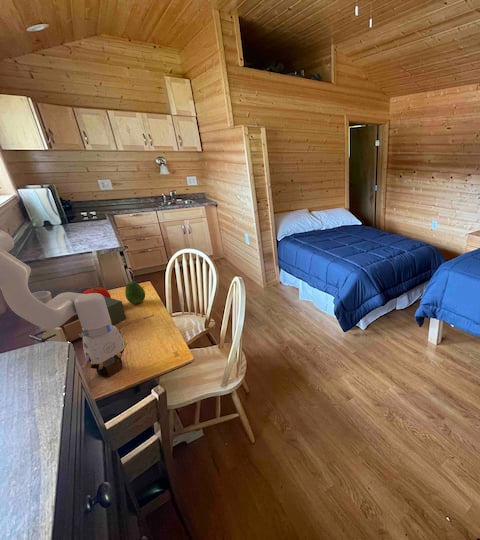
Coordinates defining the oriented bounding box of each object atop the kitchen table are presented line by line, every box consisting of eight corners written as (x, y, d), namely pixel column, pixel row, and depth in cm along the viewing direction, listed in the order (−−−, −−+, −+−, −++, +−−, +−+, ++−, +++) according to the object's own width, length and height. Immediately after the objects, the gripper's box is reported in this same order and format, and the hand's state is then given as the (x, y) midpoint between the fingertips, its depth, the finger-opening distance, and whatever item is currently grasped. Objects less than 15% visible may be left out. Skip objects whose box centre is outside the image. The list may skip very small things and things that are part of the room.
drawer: (49, 353, 113) (42, 336, 110) (29, 346, 116) (21, 329, 113) (101, 328, 129) (96, 313, 126) (82, 322, 132) (77, 307, 129)
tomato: (78, 312, 141) (71, 291, 137) (99, 301, 151) (93, 282, 147) (98, 315, 140) (91, 294, 136) (118, 304, 150) (112, 285, 146)
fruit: (148, 303, 153) (143, 282, 148) (129, 308, 147) (124, 286, 143) (145, 297, 158) (140, 277, 153) (126, 302, 152) (121, 281, 148)
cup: (62, 317, 137) (54, 293, 132) (39, 325, 130) (29, 301, 125) (53, 312, 139) (45, 289, 135) (30, 320, 133) (20, 296, 128)
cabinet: (91, 336, 126) (85, 316, 122) (70, 329, 129) (64, 310, 125) (126, 319, 139) (121, 301, 135) (106, 313, 142) (101, 295, 138)
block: (109, 377, 106) (106, 367, 104) (100, 373, 107) (96, 363, 105) (122, 369, 110) (119, 359, 108) (113, 366, 111) (110, 356, 109)
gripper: (77, 345, 93) (93, 390, 100) (130, 318, 108) (141, 359, 115) (60, 339, 95) (77, 384, 102) (115, 314, 110) (126, 354, 117)
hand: (111, 370), depth 108 cm, fingers closed on block, 4 cm apart
